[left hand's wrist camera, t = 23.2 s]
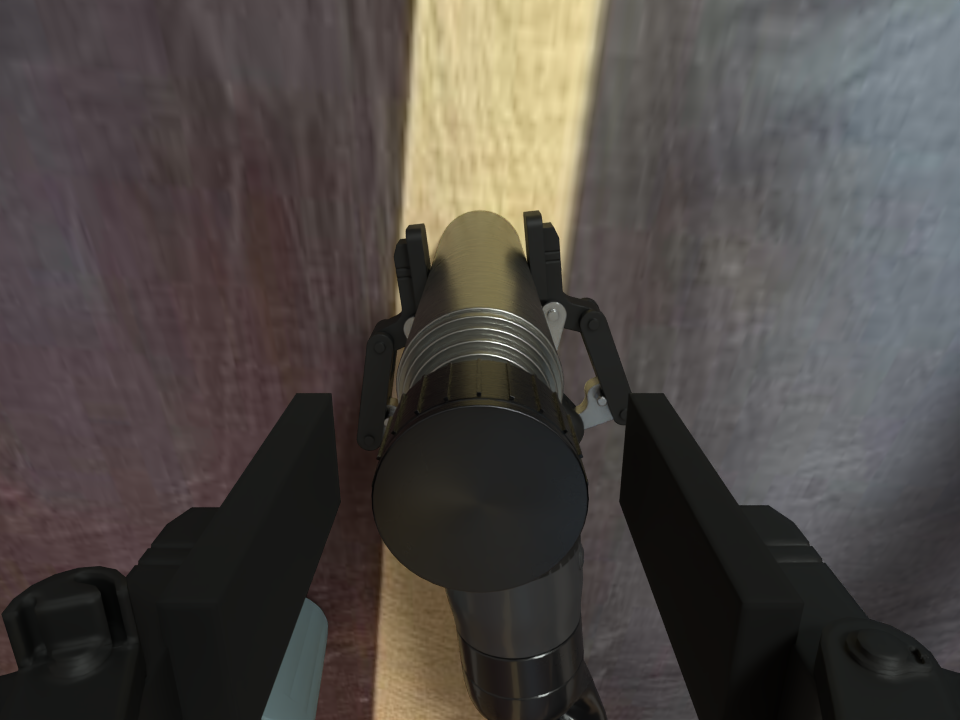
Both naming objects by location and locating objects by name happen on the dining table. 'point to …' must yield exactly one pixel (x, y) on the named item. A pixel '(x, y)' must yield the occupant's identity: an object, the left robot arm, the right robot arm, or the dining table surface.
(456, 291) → the bottle
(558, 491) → the cap
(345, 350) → the dining table surface
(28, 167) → the dining table surface
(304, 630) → the cup
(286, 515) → the left robot arm
